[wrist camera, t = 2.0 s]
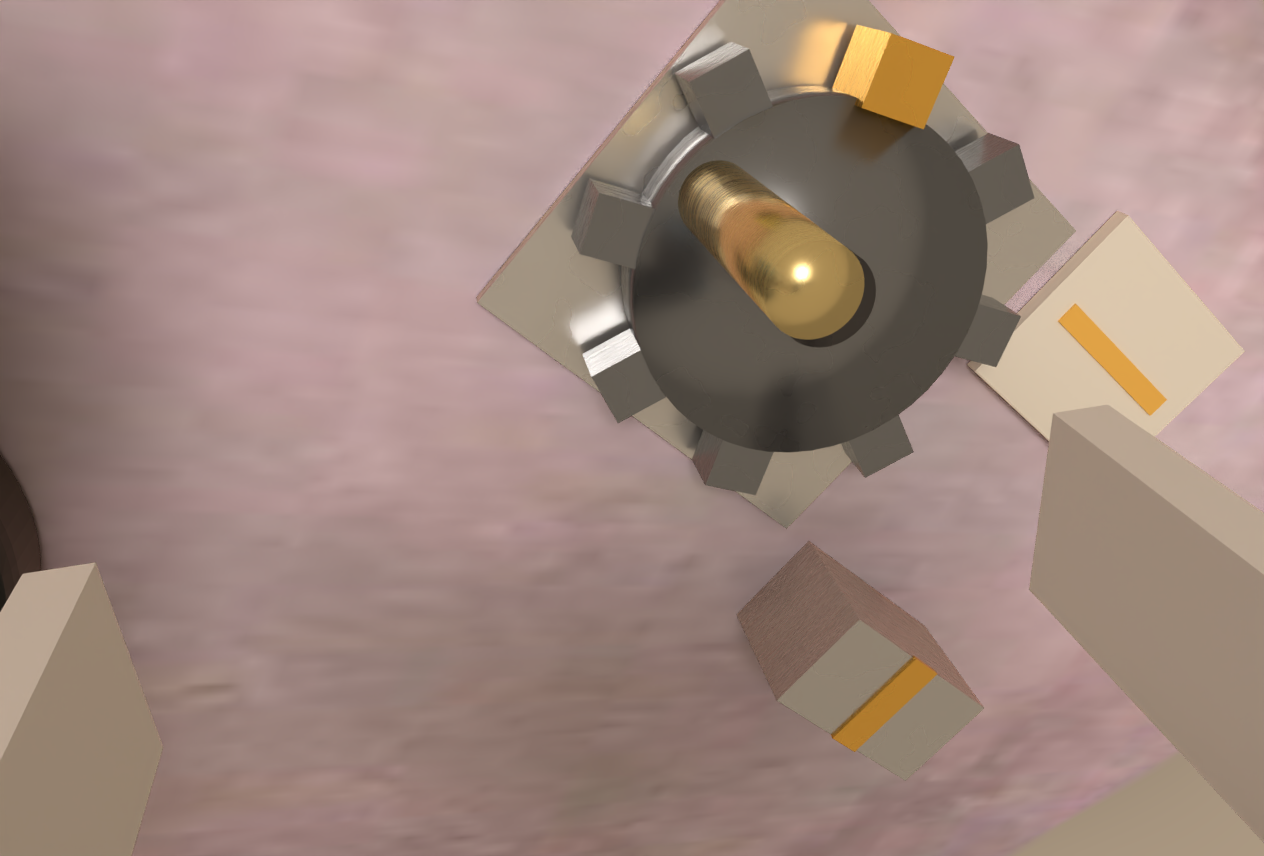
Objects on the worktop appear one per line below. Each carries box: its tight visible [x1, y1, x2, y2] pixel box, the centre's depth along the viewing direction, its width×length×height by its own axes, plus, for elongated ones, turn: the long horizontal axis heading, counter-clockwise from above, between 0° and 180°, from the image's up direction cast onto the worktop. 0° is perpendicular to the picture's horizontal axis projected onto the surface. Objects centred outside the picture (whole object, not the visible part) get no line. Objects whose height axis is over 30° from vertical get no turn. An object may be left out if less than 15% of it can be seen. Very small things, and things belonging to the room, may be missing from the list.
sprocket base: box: [476, 0, 1076, 529], centre depth 33 cm, size 14×14×1 cm
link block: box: [736, 541, 984, 781], centre depth 38 cm, size 4×7×5 cm, turn 49°
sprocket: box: [571, 25, 1034, 495], centre depth 28 cm, size 14×14×10 cm
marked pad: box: [967, 211, 1244, 441], centre depth 37 cm, size 7×8×1 cm
